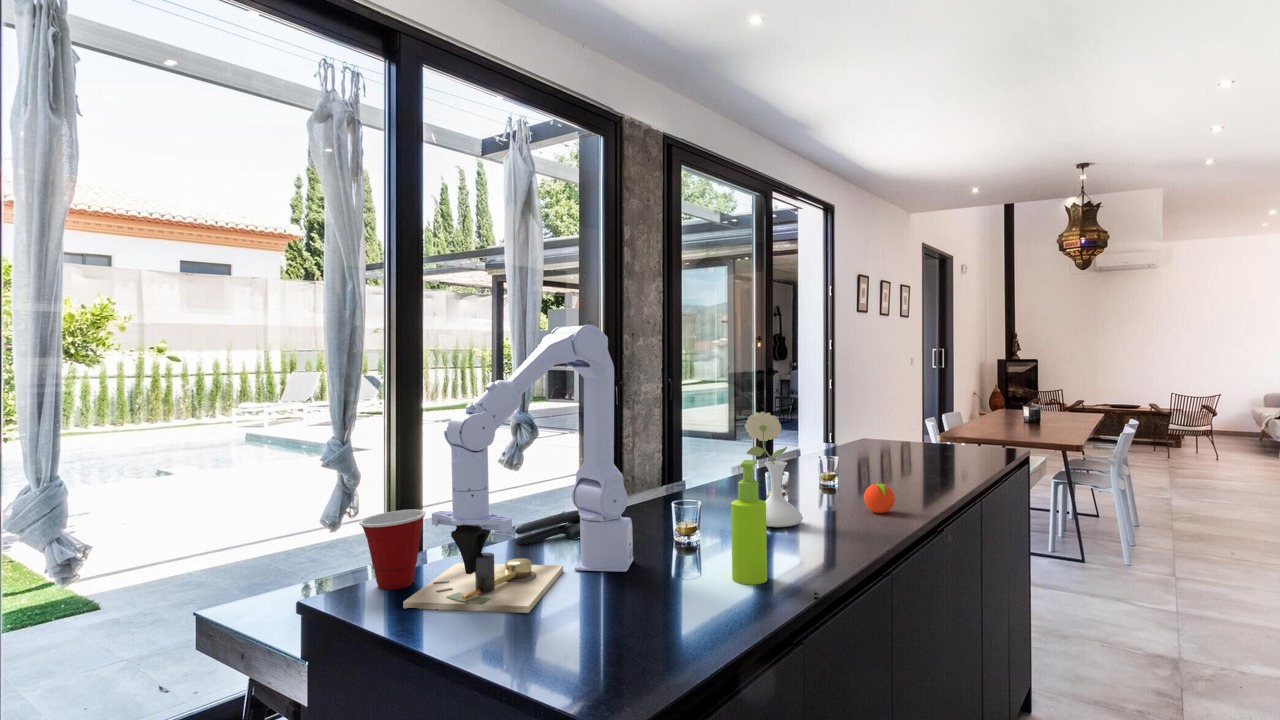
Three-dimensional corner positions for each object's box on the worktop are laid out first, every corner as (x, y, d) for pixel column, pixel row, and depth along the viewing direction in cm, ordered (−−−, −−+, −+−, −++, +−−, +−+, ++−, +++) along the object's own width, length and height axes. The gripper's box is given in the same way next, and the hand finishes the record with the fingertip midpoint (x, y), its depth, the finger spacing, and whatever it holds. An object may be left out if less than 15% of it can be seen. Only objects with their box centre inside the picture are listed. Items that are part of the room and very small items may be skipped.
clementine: (900, 517, 170) (900, 486, 170) (870, 517, 170) (869, 486, 170) (889, 509, 178) (889, 479, 178) (860, 509, 178) (860, 480, 178)
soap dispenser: (770, 573, 129) (769, 458, 129) (764, 585, 123) (762, 465, 123) (737, 570, 131) (735, 457, 131) (728, 582, 125) (727, 463, 125)
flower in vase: (810, 522, 166) (808, 410, 166) (791, 533, 157) (790, 415, 156) (756, 516, 173) (754, 408, 173) (735, 526, 164) (733, 413, 163)
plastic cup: (375, 575, 133) (373, 507, 132) (435, 574, 132) (434, 507, 132) (349, 595, 122) (347, 522, 122) (415, 594, 121) (413, 521, 121)
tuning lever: (515, 568, 130) (514, 537, 130) (536, 571, 128) (536, 539, 128) (453, 597, 115) (452, 562, 115) (475, 601, 113) (474, 565, 113)
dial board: (563, 571, 133) (563, 564, 133) (528, 612, 112) (528, 604, 112) (456, 568, 136) (456, 561, 136) (403, 608, 115) (403, 600, 115)
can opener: (585, 530, 164) (585, 504, 164) (600, 537, 158) (599, 510, 158) (508, 542, 155) (508, 515, 155) (521, 549, 149) (520, 521, 149)
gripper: (418, 489, 119) (419, 574, 119) (492, 496, 113) (493, 585, 113) (447, 482, 126) (449, 562, 126) (519, 487, 119) (520, 572, 120)
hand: (472, 572), depth 120 cm, fingers closed
